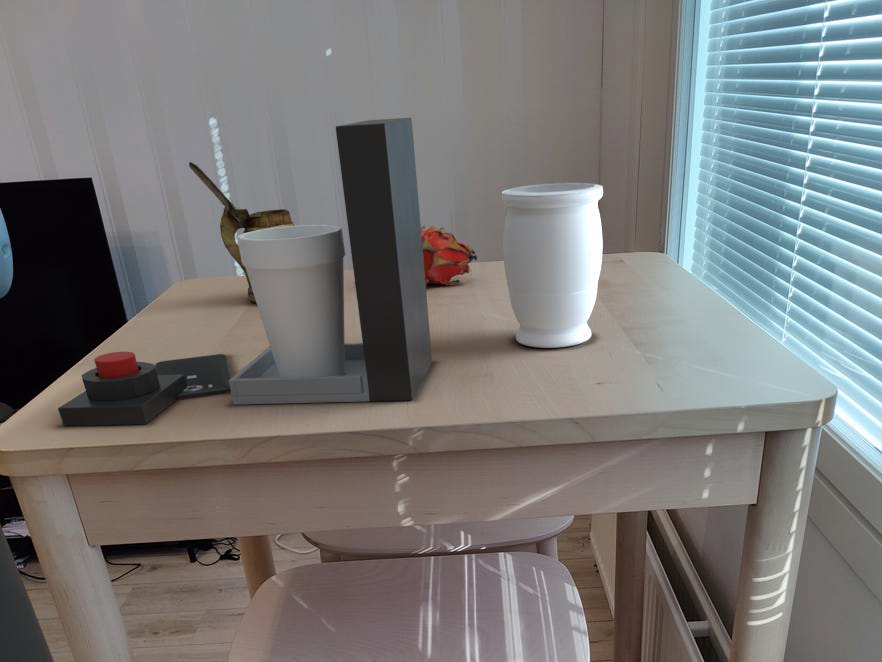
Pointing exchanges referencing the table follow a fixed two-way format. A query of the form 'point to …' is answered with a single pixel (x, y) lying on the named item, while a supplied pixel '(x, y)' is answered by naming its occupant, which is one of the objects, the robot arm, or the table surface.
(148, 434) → the table surface
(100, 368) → the button
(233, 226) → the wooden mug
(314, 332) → the foam cup
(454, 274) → the dragon fruit
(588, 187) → the jar
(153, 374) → the panel
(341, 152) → the coffee maker
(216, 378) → the smartphone
